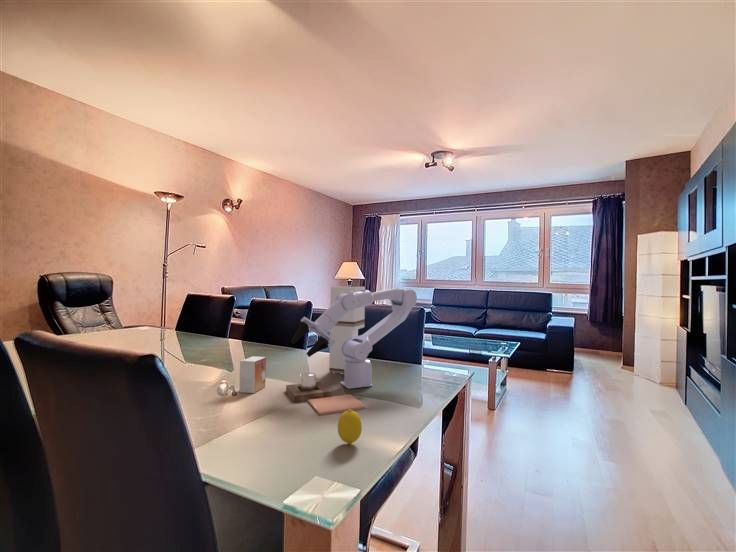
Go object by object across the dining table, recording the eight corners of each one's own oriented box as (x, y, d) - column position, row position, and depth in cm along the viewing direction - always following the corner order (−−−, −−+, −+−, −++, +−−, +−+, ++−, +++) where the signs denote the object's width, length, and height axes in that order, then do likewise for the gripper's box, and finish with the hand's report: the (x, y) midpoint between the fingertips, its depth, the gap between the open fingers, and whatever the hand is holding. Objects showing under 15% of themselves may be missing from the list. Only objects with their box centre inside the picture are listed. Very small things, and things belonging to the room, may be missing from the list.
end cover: (313, 391, 122) (313, 372, 122) (317, 395, 118) (317, 375, 118) (299, 393, 120) (299, 373, 120) (302, 397, 116) (303, 377, 116)
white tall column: (353, 375, 143) (354, 286, 144) (329, 372, 147) (330, 286, 148) (363, 369, 154) (365, 286, 155) (341, 366, 158) (342, 286, 158)
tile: (350, 396, 118) (350, 394, 118) (365, 408, 107) (365, 406, 107) (308, 401, 112) (308, 399, 112) (319, 414, 101) (319, 412, 101)
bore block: (320, 387, 127) (320, 381, 127) (331, 397, 116) (331, 391, 116) (286, 391, 122) (286, 385, 122) (294, 402, 111) (294, 395, 111)
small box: (254, 393, 119) (254, 361, 119) (238, 392, 120) (239, 360, 120) (266, 386, 127) (266, 356, 127) (251, 385, 128) (251, 355, 128)
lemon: (337, 439, 86) (337, 405, 86) (360, 438, 86) (361, 405, 86) (337, 450, 80) (337, 414, 80) (362, 449, 81) (362, 413, 81)
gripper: (311, 303, 125) (282, 331, 120) (341, 325, 119) (312, 356, 113) (316, 313, 131) (288, 340, 126) (345, 335, 124) (317, 365, 119)
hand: (299, 348), depth 120 cm, fingers open, 7 cm apart
